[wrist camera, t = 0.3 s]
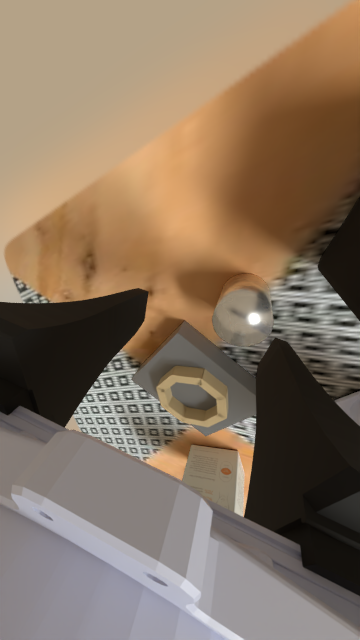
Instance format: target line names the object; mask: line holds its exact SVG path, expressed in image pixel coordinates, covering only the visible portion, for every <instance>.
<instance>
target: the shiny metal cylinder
mask: <svg viewBox="0 0 360 640" xmlns="http://www.w3.org/2000/svg"><path fill="white" fill-rule="evenodd" d="M212 323H213V327H214V330H215V332H216V333H217V334H218V336H219V337H220V338H221V339H223V340H224V341H226V342H227V343H230V344H232V345H236V346H252V345H256V344H258V343H260V342H262V341H263V340H265V339H266V338H267V337H268V336H269V334H270V333H271V331H272V328H273V324H274V320H273V313H272V305H271V297H270V290H269V287H268V285H267V284H266V282H265V281H264V280H263V279H262V278H260V277H259V276H257V275H254V274H249V273H244V274H238V275H235V276H233V277H232V278H230V279H229V280H228V281H227V282H226V283H225V285H224V286H223V288H222V291H221V294H220V297H219V299H218V302H217V305H216V308H215V310H214V313H213V318H212Z"/></svg>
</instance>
